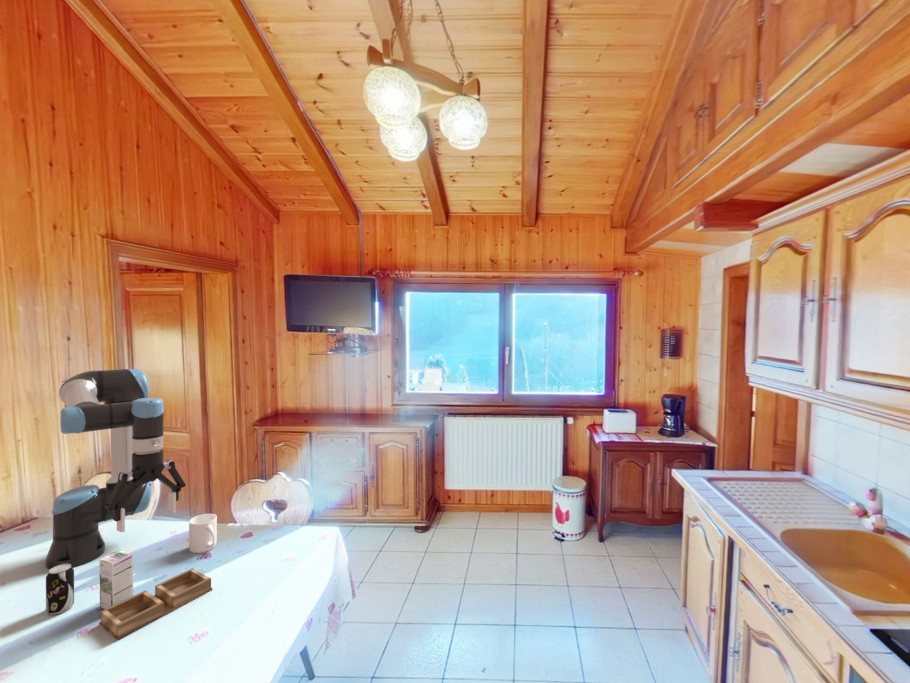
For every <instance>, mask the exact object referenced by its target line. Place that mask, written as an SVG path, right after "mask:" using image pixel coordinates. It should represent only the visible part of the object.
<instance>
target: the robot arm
mask: <svg viewBox="0 0 910 683" xmlns="http://www.w3.org/2000/svg"><path fill="white" fill-rule="evenodd" d="M149 392H150V389H149V382H148V380H147V376H146V374H145V372H144V371H143V370H142V369H139V368H137V369H134V368H126V369H123V368H122V369H108V370H89V371H84V372H80V373H78V374H76V375H73V376H72V377H70V378H68V379H67V380H65V381H64V382H63V383H62V384H61V386H60V387H59V390H58V393H59V398H60V400H61V402H62V403H64V404H65V407H64V408H62V409H61V410H60V414H59V421H60V422H59V426H60V432H61V433H62V434H66V435H69V434H81V433H87V432H95V431H104V430H110V433H109V434H110V435H109V436H110V467H111V469H110V474H111V476H110V477H109V478H108V479H107V480H106V482H105V487H102V488H100V487H99V486H98V485H96V484H90V485H89V484H87V485H83V486H79V487H74V488H71V489H69V490H67V491H65V492H62V493H60V494H59V495H58V496H56V498H55V499H54V500H53V502H52V510H51V514H52V542H51V545H50V547H49V550H48V553H47V554H46V557H45V567H46V568H47V569H49V570H50V569H52V568H53V567H55V566H58V565H62V564H71V567H72V568H75V567H79V566H83V565H85V564H86V563H89V562H91V561H93V560H96V559H97V558H99V557H100V556H102V555H103V554H104V553H105V552H106V543H105V541H104V538H103V536H102V534H101V532H100V530H99V523H103V522H108V521H111V520H113V521H115V522H116V531H118V532H119V533H124V532H125V531H126V522H125V520H126V519H125V518H126V517H127V516H133V515H135V514H139V513H143V512H144V511H146V510H147V509H148V508H149V506H150V502H151V499H152V498H151V497H152V491H153V490H152V488H153V487H152V482H155V481H156V480H159V481H160V482H161V483H162V484H164V485H165V486H167V487H168V488H169V489H170V490H168V494H167V495H168V505H167V506H168V507H167V508H168V509H167V510H168V512H169V513H170V514H176V513H177V501H179V498H180V496H179V495H180V494H179V493H180V492H181V491H182V489H183V488H185V487H186V483H185V481H184V480H183V478H182V476H181V475H180V473H179V472H178V469H176V463H175V461H174V460H170V459H168V460H166V461H165V462H164V449H163V448H164V416H165V414H164V413H165V407H164V400H163V399H162V398H160V397H149V396H150V394H149ZM101 403H103V404H101ZM164 469H167V471H168V473H169V475H170V476H171V478H172V479H173V481H174V482H173V481H171V479H169V478H168V477H167V476H165V474H163V473H162V472H163V471H164Z"/></svg>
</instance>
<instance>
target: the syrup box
mask: <svg viewBox="0 0 910 683" xmlns="http://www.w3.org/2000/svg"><path fill="white" fill-rule="evenodd" d="M133 555H134V554H133V553H132V552H128V551H125V550H121V549H119V550H115V551H114V552H112V553H109V554H107V555H106V556H103V557H102V558H100V559H99V565H98V566H99V567H98V568H99V608H100V609H102V610H105V609H107V608H109V607H111V606H113V605H115V604H117V603H119V602H122V601H124V600H126V599H128V598H130V597H132V596H134V565H133V564H134V558H133V557H134V556H133Z"/></svg>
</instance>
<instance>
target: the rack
mask: <svg viewBox="0 0 910 683" xmlns="http://www.w3.org/2000/svg"><path fill="white" fill-rule="evenodd" d="M211 591H213V587H212V578H211V577H209V576H208V575H205V574H204V573H202V572H200V571H198V570H196V569H194V568H190V569H188V570H186V571H184V572H181V573H179V574H177V575H175V576H173V577H171V578H169V579H166V580H164V581H162V582H160V583H158V584H156V585H154V593H155V594H154V595H153V594H152V593H151V592H149V591H147V590H146V589H145V590H143V591H140V592H139V593H137V594H135V595H134V594H133V596H132V597H130V598H128V599H126V600H124V601H122V602H119V603H117V604H115V605H113V606H111V607H109V608H107V609H105V610H104V609H102V610H100V621H99V622H98V624H99V626H100V627H101V628H102V629H104V630H105V631H106V632H107V633H108V634H109V635H110V636H112V637H113V638H114V639H116V641H120V640H122V639H124V638H126V637H127V636H129V635H131V634H133V633H135V632H136V631H138V630H140V629H142V628H144V627H146V626H147V625H150V624H151V623H154V622H156V621H157V620H159V619H160V618H162V617H164V616H167V615H168V614H171V613H172V612H174V611H176V610H178V609H180V608H181V607H183V606H185V605H187V604H189V603H190V602H192V601H194V600H196V599H198V598H201V597H202V596H204V595H206V594H207V593H209V592H211ZM179 607H180V608H179Z"/></svg>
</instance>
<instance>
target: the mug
mask: <svg viewBox="0 0 910 683" xmlns="http://www.w3.org/2000/svg"><path fill="white" fill-rule="evenodd" d="M217 518H218V516H217V514H216V513H204V514H203V513H202V514H199V515H195V516H193V517H192V518H191V519H190V520H188V521H189V522H188V523H189V524H188V531H189V532H188V548H189V552H191V553H192V554H203V553H207V552H209V551H211V550H213V549H214V548H215V547H216V545H217V542H218V540H217V539H218V537H217V536H218V535H217V534H218V533H217V532H218V531H217V530H218V529H217V528H218V525H217V524H218V523H217V522H218V519H217Z"/></svg>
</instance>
